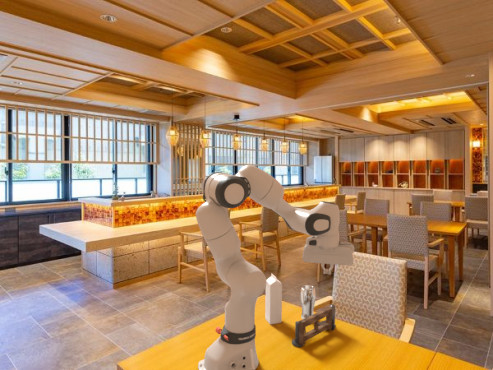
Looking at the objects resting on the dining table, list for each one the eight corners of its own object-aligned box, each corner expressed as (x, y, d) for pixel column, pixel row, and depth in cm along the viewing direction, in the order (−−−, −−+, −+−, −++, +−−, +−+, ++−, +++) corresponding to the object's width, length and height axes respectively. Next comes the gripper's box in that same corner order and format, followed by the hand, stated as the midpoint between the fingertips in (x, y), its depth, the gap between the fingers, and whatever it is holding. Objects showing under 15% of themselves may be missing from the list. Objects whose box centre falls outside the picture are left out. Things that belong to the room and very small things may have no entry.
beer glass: (314, 314, 162) (314, 285, 161) (315, 321, 155) (316, 290, 154) (299, 313, 163) (300, 284, 162) (300, 320, 156) (301, 289, 155)
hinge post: (329, 332, 146) (329, 308, 145) (316, 324, 152) (317, 301, 151) (338, 328, 149) (339, 305, 148) (326, 321, 155) (326, 298, 155)
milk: (269, 324, 152) (270, 278, 150) (265, 318, 158) (265, 273, 156) (281, 322, 154) (282, 276, 152) (276, 316, 160) (277, 272, 158)
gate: (328, 327, 148) (328, 307, 147) (333, 329, 146) (333, 309, 145) (298, 343, 135) (299, 320, 134) (303, 346, 133) (304, 323, 132)
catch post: (297, 348, 133) (297, 326, 132) (289, 342, 137) (289, 321, 137) (306, 344, 135) (307, 323, 135) (298, 339, 140) (299, 318, 139)
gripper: (354, 240, 135) (353, 273, 136) (303, 237, 140) (303, 269, 141) (355, 244, 129) (354, 278, 130) (302, 241, 134) (301, 274, 135)
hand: (327, 273), depth 136 cm, fingers closed
